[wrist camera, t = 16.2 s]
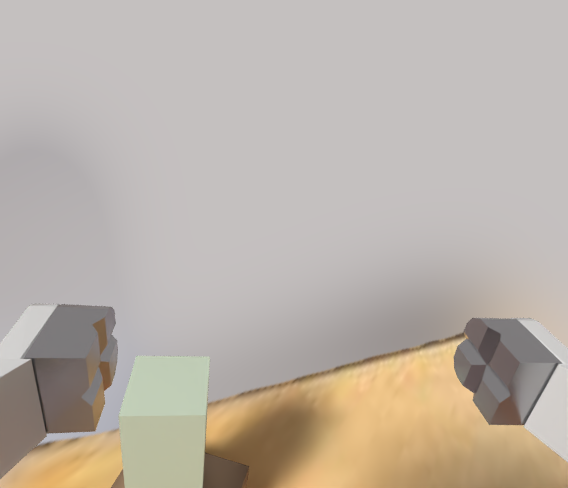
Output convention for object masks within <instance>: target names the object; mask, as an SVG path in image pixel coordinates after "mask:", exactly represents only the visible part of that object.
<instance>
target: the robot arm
mask: <svg viewBox="0 0 568 488" xmlns="http://www.w3.org/2000/svg"><path fill="white" fill-rule="evenodd" d="M115 324H116V321H115V312H114V309H113V308H112V307H105V306H84V305H65V304H62V305H59V304H33V305H30V306H29V307H28V308H27V309H26V310H25V312H24V313H23V314H22V315H21V317H20V318H19V319H18V321H17V322H16V323H15V325H14V326H13V327H12V329H11V330H10V332H9V333H8V334H7V335H6V336H5V338H4V339H3V340H2V342H1V343H0V479H1V478H2V477H3V476H4V475H5V474H6V473H7V472H8V471H10V470H11V469H12V468H13V467H14V466H15V465H16V464H17V463H18V462H19V461H20V460H21V459H23V458H24V457H25V456H26V455H27V454H28V453H29V452H30V451H31V450H32V449H33V448H34V447H36V446H37V445H38V444H39V443H40V442H41V441H42V440H43V439H44V438H45V437H46V434H47V433H69V432H92V431H95V430H96V427H97V424H98V421H99V419H100V416H101V413H102V410H103V407H104V405H105V397H104V391H105V390H106V389H107V388H108V387H110V386H111V384H112V381H113V378H114V375H115V370H116V364H117V354H118V347H117V340H116V339H115V338H114V337H113V336H112V335H111V334H112V332H113V329H114V326H115ZM464 334H465V336H466V340H464V341H463V342H462V343H461V344H460V345H458V347H457V350H456V352H455V355H454V369H455V372H456V375H457V377H458V379H459V380H460V382H461V383H462V385H463V386H464V387H466V388H467V389H469V390H470V391H472V392H473V393H474V396H473V401H474V403H475V404H476V406H477V407H478V409H479V410H480V412H481V413H482V415H483V416H484V418H485V419H486V421H487V422H488V424H489V425H524V428H525V429H527V430H528V431H529V432H530V433H532V434H533V435H534V436H535V437H537V438H538V439H539V440H540V441H542V442H543V443H544V444H545V445H547V446H548V447H549V448H550V449H552V450H553V451H554V452H555V453H557V454H558V455H559V456H560V457H562V458H563V459H564V460H565V461H567V462H568V348H567V347H565V346H564V345H563V344H562V343H561V342H560V341H559V340H558V339H557V338H556V337H555V336H554V335H552V334H551V333H550V332H549V331H548V330H547V329H546V328H545V327H544V326H543V325H541V324H540V323H539V322H538V321H536V320H534V319H531V318H511V319H497V318H472V319H471V320H470V321H469V322H468V323H467V325H466V327H465V329H464Z"/></svg>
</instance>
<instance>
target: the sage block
mask: <svg viewBox="0 0 568 488" xmlns="http://www.w3.org/2000/svg"><path fill="white" fill-rule="evenodd" d="M209 365H210V357H187V356H186V357H185V356H136V359H135V363H134V366H133V370H132V373H131V376H130V379H129V383H128V386H127V390H126V393H125V396H124V400H123V403H122V406H121V410H120V413H119V427H120V439H121V451H122V462H123V474H124V485H125V488H203V479H204V461H205V441H206V422H207V403H208V383H209Z"/></svg>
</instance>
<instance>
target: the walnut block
mask: <svg viewBox="0 0 568 488" xmlns="http://www.w3.org/2000/svg"><path fill="white" fill-rule="evenodd" d="M248 470H249V466H246V465H243V464H240V463H237V462H233V461H230V460H227V459H224V458H220V457H217V456H214V455H210V454H207V453H205V461H204V479H203V488H246V486H247V478H248ZM111 488H125V485H124V474H123V470H122V471H121V473H120V474H119V476H118V477H117V479H116V481H115V482H114V484H113V485H112V487H111Z"/></svg>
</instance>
